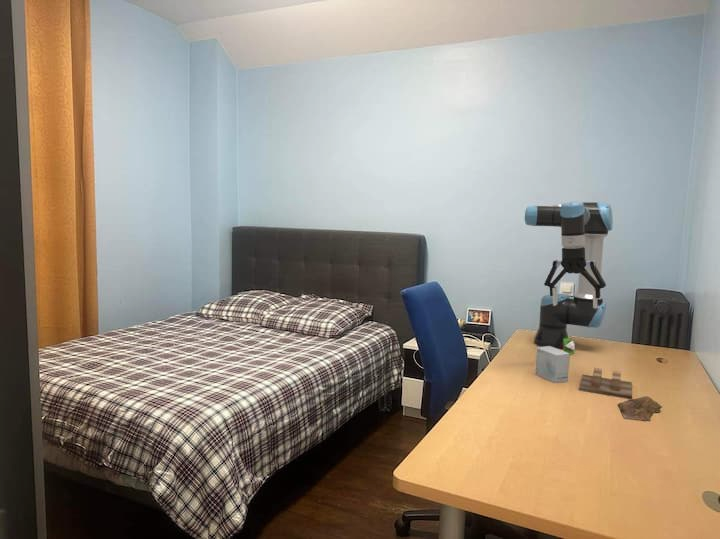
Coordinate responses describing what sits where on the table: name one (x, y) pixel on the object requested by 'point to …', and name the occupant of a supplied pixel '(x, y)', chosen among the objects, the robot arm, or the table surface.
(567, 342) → the geometric puzzle
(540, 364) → the skincare box
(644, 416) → the wooden fragment
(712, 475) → the table surface
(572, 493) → the table surface
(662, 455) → the table surface
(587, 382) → the ridge board
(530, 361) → the table surface
